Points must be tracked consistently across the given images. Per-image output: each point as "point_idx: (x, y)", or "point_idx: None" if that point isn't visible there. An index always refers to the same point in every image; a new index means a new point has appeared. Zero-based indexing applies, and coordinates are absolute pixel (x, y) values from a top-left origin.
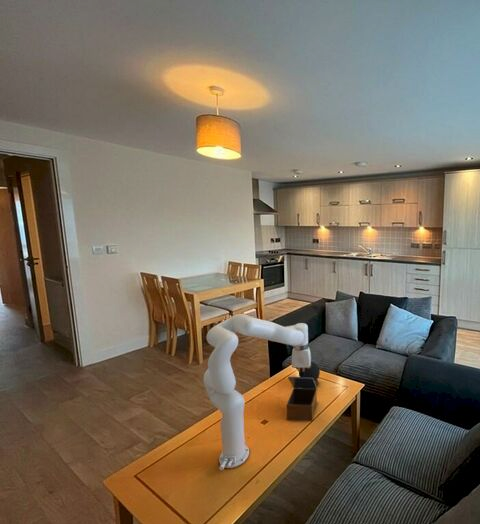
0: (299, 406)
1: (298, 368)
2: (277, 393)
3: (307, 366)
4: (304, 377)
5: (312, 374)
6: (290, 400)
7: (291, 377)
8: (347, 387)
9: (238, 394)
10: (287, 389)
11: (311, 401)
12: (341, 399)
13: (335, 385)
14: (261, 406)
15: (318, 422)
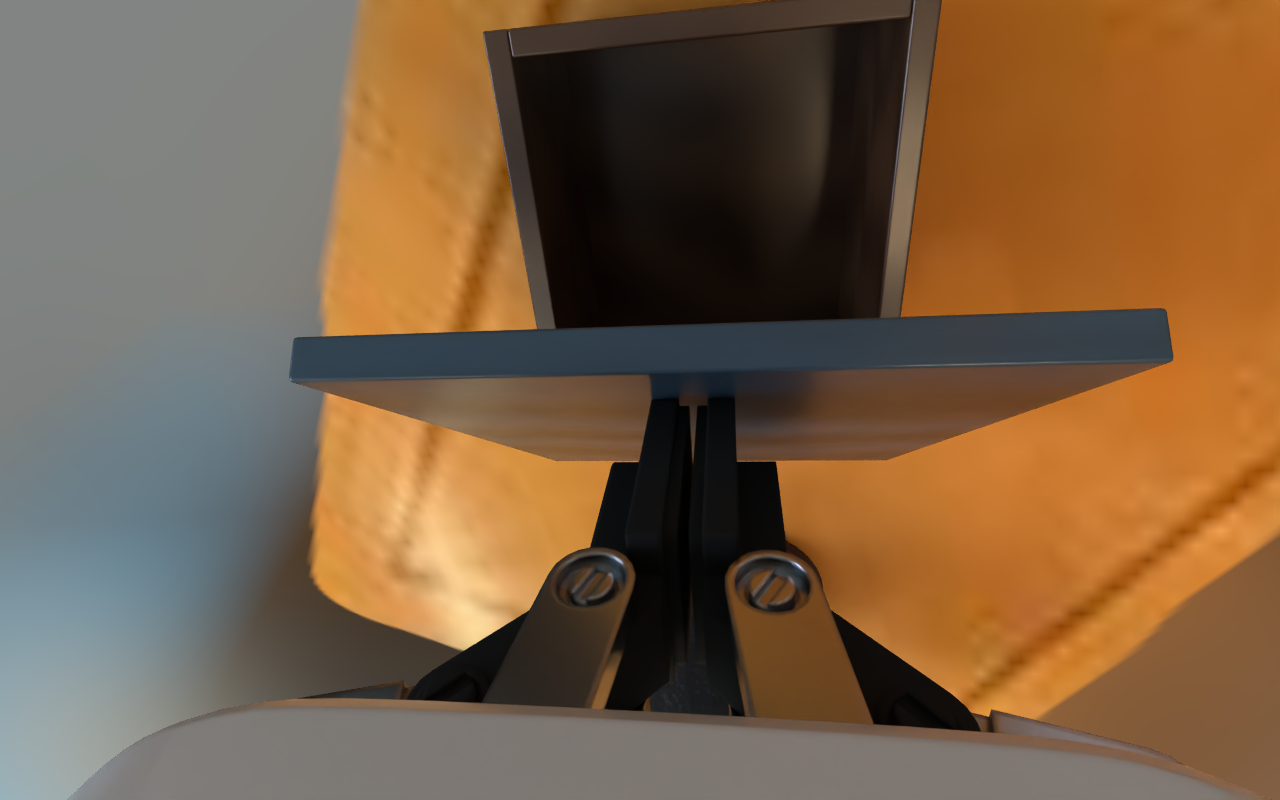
0: (694, 9)
1: (812, 676)
2: (1067, 460)
3: (178, 766)
4: (553, 364)
5: (682, 668)
6: (887, 169)
7: (1033, 339)
8: (392, 562)
9: None
10: (956, 521)
11: None
12: (377, 415)
13: (501, 583)
14: (1274, 224)
15: (464, 15)
